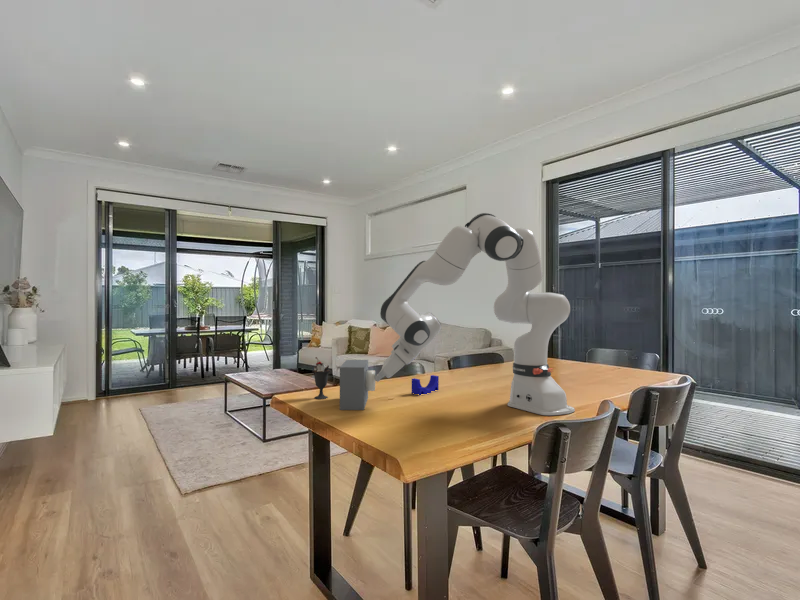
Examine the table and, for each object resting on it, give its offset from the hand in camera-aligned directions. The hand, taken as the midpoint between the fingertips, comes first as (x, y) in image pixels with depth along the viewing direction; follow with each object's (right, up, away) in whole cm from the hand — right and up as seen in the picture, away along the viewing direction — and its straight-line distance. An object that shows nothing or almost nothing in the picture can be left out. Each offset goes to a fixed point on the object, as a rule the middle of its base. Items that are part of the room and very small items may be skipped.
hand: (376, 379), depth 150 cm
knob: (-5, -4, 0) cm, 6 cm away
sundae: (-21, -9, +9) cm, 24 cm away
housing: (-8, -8, 0) cm, 11 cm away
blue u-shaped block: (+19, -9, +18) cm, 28 cm away
